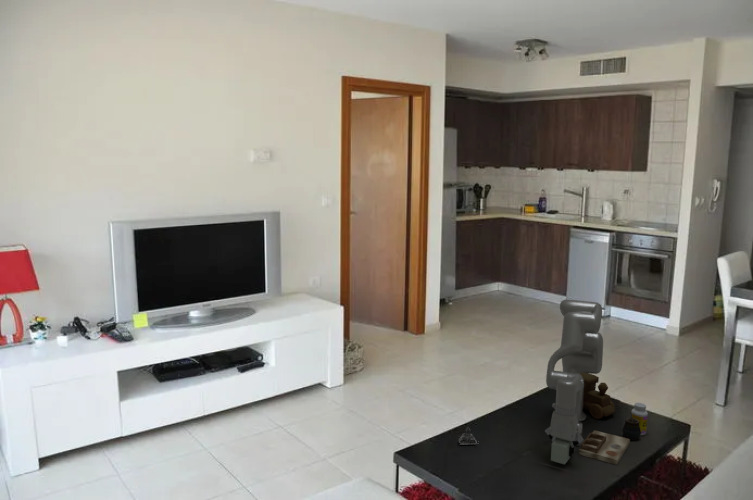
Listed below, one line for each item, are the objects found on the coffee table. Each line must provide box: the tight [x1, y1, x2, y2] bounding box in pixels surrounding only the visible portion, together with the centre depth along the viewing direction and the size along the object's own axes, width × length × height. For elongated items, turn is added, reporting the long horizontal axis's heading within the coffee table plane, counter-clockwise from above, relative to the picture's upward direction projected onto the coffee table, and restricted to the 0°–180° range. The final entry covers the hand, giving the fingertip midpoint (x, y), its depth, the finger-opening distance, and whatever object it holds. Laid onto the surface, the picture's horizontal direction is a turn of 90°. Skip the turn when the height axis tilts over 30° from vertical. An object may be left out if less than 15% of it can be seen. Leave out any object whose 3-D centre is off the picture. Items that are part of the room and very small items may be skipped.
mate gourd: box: [622, 412, 641, 441], centre depth 263 cm, size 7×8×10 cm
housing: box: [550, 438, 576, 465], centre depth 243 cm, size 6×12×7 cm, turn 145°
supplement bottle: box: [631, 402, 649, 436], centre depth 268 cm, size 7×7×13 cm
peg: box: [575, 421, 583, 447], centre depth 258 cm, size 4×4×9 cm
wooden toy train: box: [579, 372, 616, 420], centre depth 289 cm, size 20×11×17 cm, turn 36°
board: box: [578, 429, 631, 465], centre depth 253 cm, size 15×22×4 cm
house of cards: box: [458, 426, 478, 446], centre depth 259 cm, size 9×9×8 cm
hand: (563, 452), depth 243 cm, fingers closed on housing, 5 cm apart
